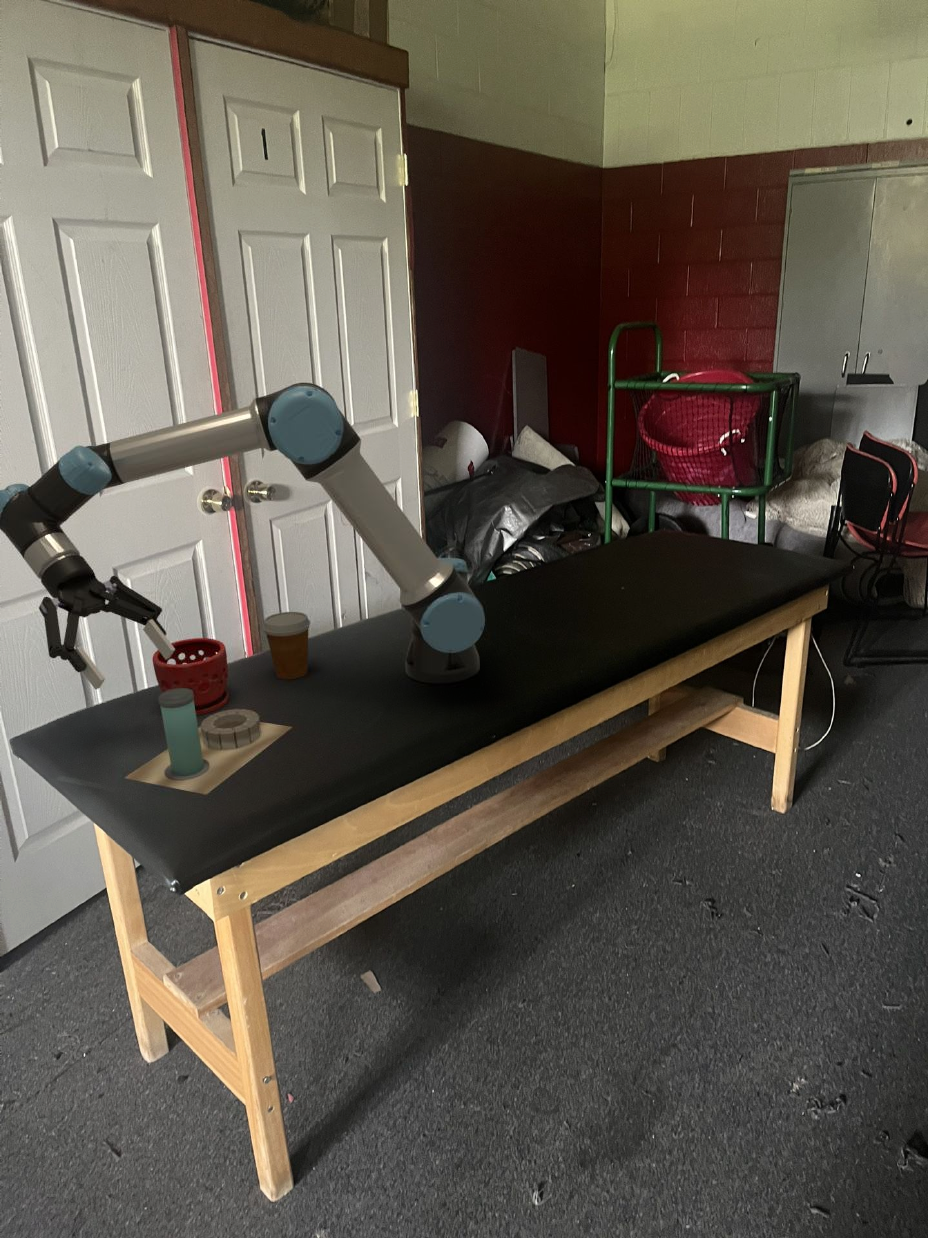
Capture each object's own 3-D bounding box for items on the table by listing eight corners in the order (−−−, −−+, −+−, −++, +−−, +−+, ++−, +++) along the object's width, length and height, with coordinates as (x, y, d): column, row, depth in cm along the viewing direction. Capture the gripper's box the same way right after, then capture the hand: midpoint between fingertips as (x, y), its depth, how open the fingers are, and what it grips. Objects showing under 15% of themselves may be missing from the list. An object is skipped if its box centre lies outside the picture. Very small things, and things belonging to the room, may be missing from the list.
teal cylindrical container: (211, 764, 143) (200, 691, 139) (188, 779, 139) (176, 704, 135) (187, 758, 146) (175, 686, 141) (164, 772, 141) (151, 699, 137)
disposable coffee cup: (259, 680, 179) (252, 624, 175) (284, 662, 187) (277, 609, 183) (300, 685, 176) (294, 628, 172) (323, 667, 184) (318, 612, 180)
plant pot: (152, 707, 169) (142, 648, 165) (218, 688, 176) (210, 632, 172) (175, 731, 158) (164, 669, 154) (244, 710, 166) (236, 650, 162)
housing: (292, 732, 156) (290, 711, 155) (207, 800, 135) (203, 777, 134) (218, 720, 162) (215, 700, 160) (125, 783, 141) (120, 761, 140)
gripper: (117, 562, 156) (188, 655, 153) (-19, 603, 136) (60, 710, 133) (132, 535, 151) (205, 631, 149) (-7, 574, 131) (75, 684, 129)
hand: (136, 669), depth 141 cm, fingers open, 13 cm apart
